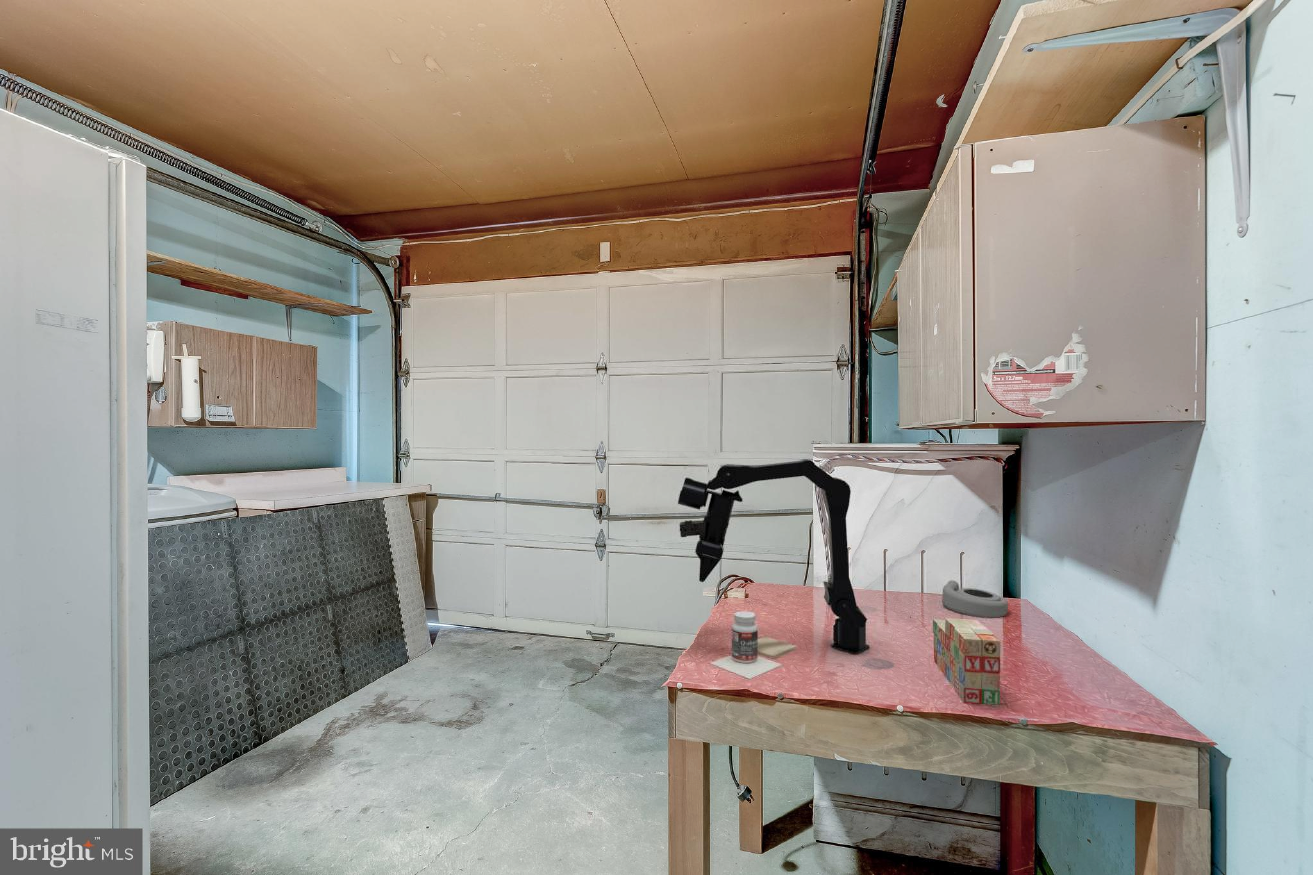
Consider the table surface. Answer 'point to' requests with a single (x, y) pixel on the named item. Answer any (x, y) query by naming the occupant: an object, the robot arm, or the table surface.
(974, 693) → the stack of blocks
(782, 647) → the oak coaster
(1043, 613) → the table surface
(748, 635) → the pill bottle
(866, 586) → the table surface
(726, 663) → the card
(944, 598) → the turbocharger housing
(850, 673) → the table surface
